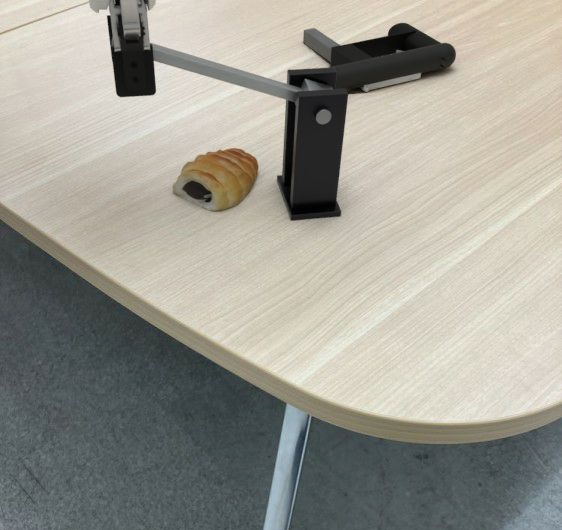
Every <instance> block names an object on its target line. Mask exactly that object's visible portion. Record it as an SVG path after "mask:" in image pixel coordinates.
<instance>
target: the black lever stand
mask: <svg viewBox="0 0 562 530" xmlns="http://www.w3.org/2000/svg"><path fill="white" fill-rule="evenodd" d="M286 72H287V73H286V84H289V85H292V86H296V87H299V88H301V86H302V84H303V82H304V79H308V80H311V81H314V82H317V83H321V84H324V85H327V86H330V87H332V88H333V89H329V90H312V91H297V99H296V104H295V102H293V101H289V100H286V99H285V110H284V111H285V112H284V130H283V151H282V154H283V155H282V169H281V170H282V171H281V174H278V175H277V176H276V182H277V185H278V189H279V192H280V194H281V196H282V199H283V203H284V205H285V208H286V211H287V214H288V217H289V219H290V221H306V220H316V219H328V218H339V217H341V216H342V210H341V208H340V205H339V202H338V200H337V198H338V190H339V182H340V181H339V180H340V174H341V173H340V172H341V164H342V163H341V162H342V155H343V146H344V135H345V129H346V128H345V126H346V118H347V111H348V102H349V101H348V100H349V93H348V90H346V89H335V87H336V77H337V71H336V70H335V68H334V67H331V68H329V67H314V68H299V69H298V68H296V69H287V70H286Z"/></svg>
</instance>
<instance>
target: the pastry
mask: <svg viewBox="0 0 562 530" xmlns="http://www.w3.org/2000/svg"><path fill="white" fill-rule="evenodd" d="M180 171H181V172H180V174H179V175H178V176H177V179H176V180H175V182H174V183H173V184H172V189H173V192H174V194H175V195H177V196H181V197H182V198H184V199H185V200H188V201H191V202H192V203H195V204H198V205H200V206H201V207H202V208H203V209H205V210H207V211H210V212H218V211H223V210H226V209H231V208H233V207H235V206H237V205H238V204H240V203H241V202H242V201H243V200H244V199H245V197H246V196H247V194H248V193H249V192H250V190H251V188H253V185H254V183H255V181H256V180H257V178H258V172H259V162H258V160H257V158H256V157H255V156H253V155H252V154H251V153H249V152H246V151H245V150H244V149H242V148H236V147H232V148H227V149H224V150H222V149H218V150H216V151H207V152H206V153H205V154H198V155H197V156H196V157H195V158H194V160H193V161H188V162H186V163H185V164H184V165H183V167H182V168H181V170H180Z"/></svg>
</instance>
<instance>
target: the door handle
mask: <svg viewBox="0 0 562 530" xmlns="http://www.w3.org/2000/svg"><path fill="white" fill-rule="evenodd" d="M302 38H303V39H302V40H303V42H304V43H305V44H304V43H303V42H302V43H303V44H304V45H305V46H307V47H309V48H310V49H311V50H313V51H314V52H316V53H317V54H318V55H319V56H321V57H323V58H324V59H325V60H327V61H328V62H330V63H329V65H330V66H328V68H331V67H334V68H335V70H336V71H337V77H336V87H335V89H346V90H347V91H352V90H356V89H360V90H361V91H363V92H365V93H368V92H369V91H371V90H375V89H380V88H384V87H388V86H392V85H397V84H401V83H406V82H410V81H414V80H415V81H416V80H418V79H421V77H422V74H426V73H430V72H434V71H438V70H443V69H447V68H449V67H451V66H452V65H453V64H454V63H455V61H456V58H457V51H456V49H455V47H454V46H453V45H452V44H451V43H449V42H440V41H438V40H437V39H436V38H433V37H432V36H430V35H428V34H426V33H425V32H423V31H422V30H420V29H418V28H416V27H415V26H412V25H411V24H409V23H407V22H398V23H395V24H393V25H392V26H391V27H390V28H389V29H388V31H387V35H384V36H381V37H375V38H371V39H370V38H369V39H365V40H361V41H356V42H351V43H346V44H339V43H338V42H336V41H335V40H333V39H332V38H330V37H329V36H327V35H326V34H324V33H323V32H321V30H319V29H317V28H315V27H311V28H307V29H303V37H302Z"/></svg>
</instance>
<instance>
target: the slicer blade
mask: <svg viewBox="0 0 562 530" xmlns="http://www.w3.org/2000/svg"><path fill="white" fill-rule="evenodd" d="M120 41H121V40H120ZM150 44H152V46H153V57H154V62H156V63H159V64H163V65H166V66H170V67H173V68H177V69H180V70H183V71H187V72H191V73H194V74H196V75H201V76H204V77H207V78H210V79H214V80H217V81H220V82H221V81H222V82H225V83H228V84H232V85H235V86H238V87H241V88H245V89H249V90H252V91H255V92H258V93H262V94H266V95H269V96H272V97H276V98H279V99H283V100H285V101H286V100H289V101H293V102H295V104H296V99H297V91H312V90H329V89H333V88H332V87H330V86H327V85H324V84H321V83H317V82H314V81H311V80H308V79H304V82H303V84H302V86H301V88H299V87H296V86H292V85H289V84H287V82H282V81H279V80H275V79H272V78H270V77H266V76H262V75H259V74H256V73H252V72H249V71H245V70H243V69H239V68H237V67H236V68H235V67H232V66H229V65H226V64H222V63H219V62H216V61H212V60H209V59H206V58H203V57H199V56H197V55H193V54H189V53H186V52H182V51H179V50H176V49H173V48H170V47H167V46H163V45H160V44H156V43H153V42H150ZM112 46H114V42H113V38H112Z"/></svg>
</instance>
